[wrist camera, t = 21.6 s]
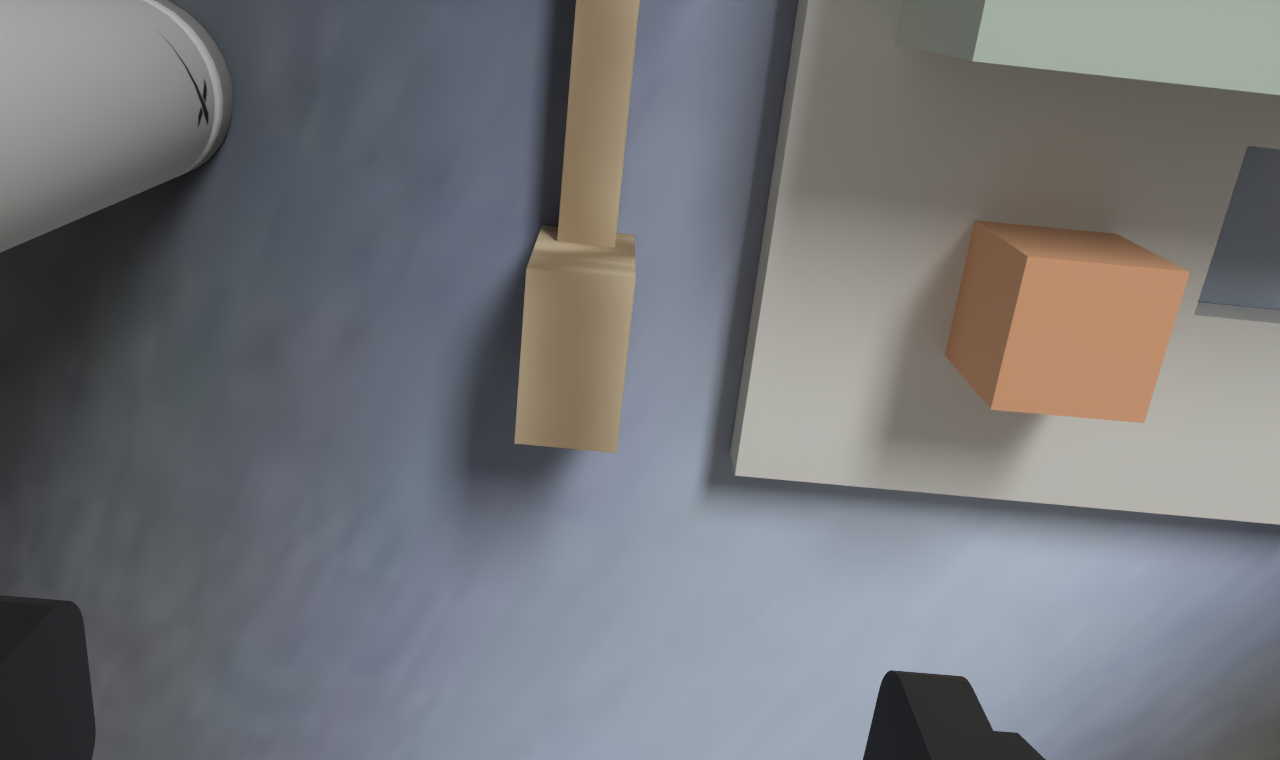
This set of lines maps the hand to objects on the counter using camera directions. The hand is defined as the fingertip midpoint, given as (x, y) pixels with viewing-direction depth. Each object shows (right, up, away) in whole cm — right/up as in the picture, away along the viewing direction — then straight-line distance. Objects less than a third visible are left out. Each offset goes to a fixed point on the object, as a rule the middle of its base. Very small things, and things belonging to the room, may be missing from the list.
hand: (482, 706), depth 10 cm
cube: (+15, +6, +26) cm, 31 cm away
